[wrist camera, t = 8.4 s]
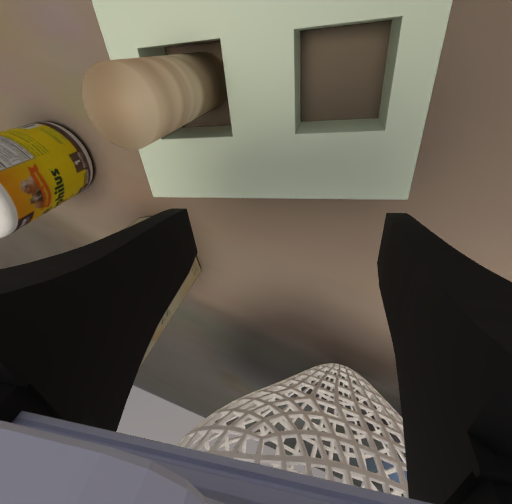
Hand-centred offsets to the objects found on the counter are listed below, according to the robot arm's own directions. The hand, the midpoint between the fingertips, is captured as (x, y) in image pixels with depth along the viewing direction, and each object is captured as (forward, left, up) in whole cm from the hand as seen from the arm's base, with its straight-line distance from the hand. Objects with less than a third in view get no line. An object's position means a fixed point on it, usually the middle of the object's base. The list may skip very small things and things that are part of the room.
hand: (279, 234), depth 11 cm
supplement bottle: (+19, 0, -11) cm, 22 cm away
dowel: (+6, -4, -10) cm, 13 cm away
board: (+2, -4, -10) cm, 11 cm away
